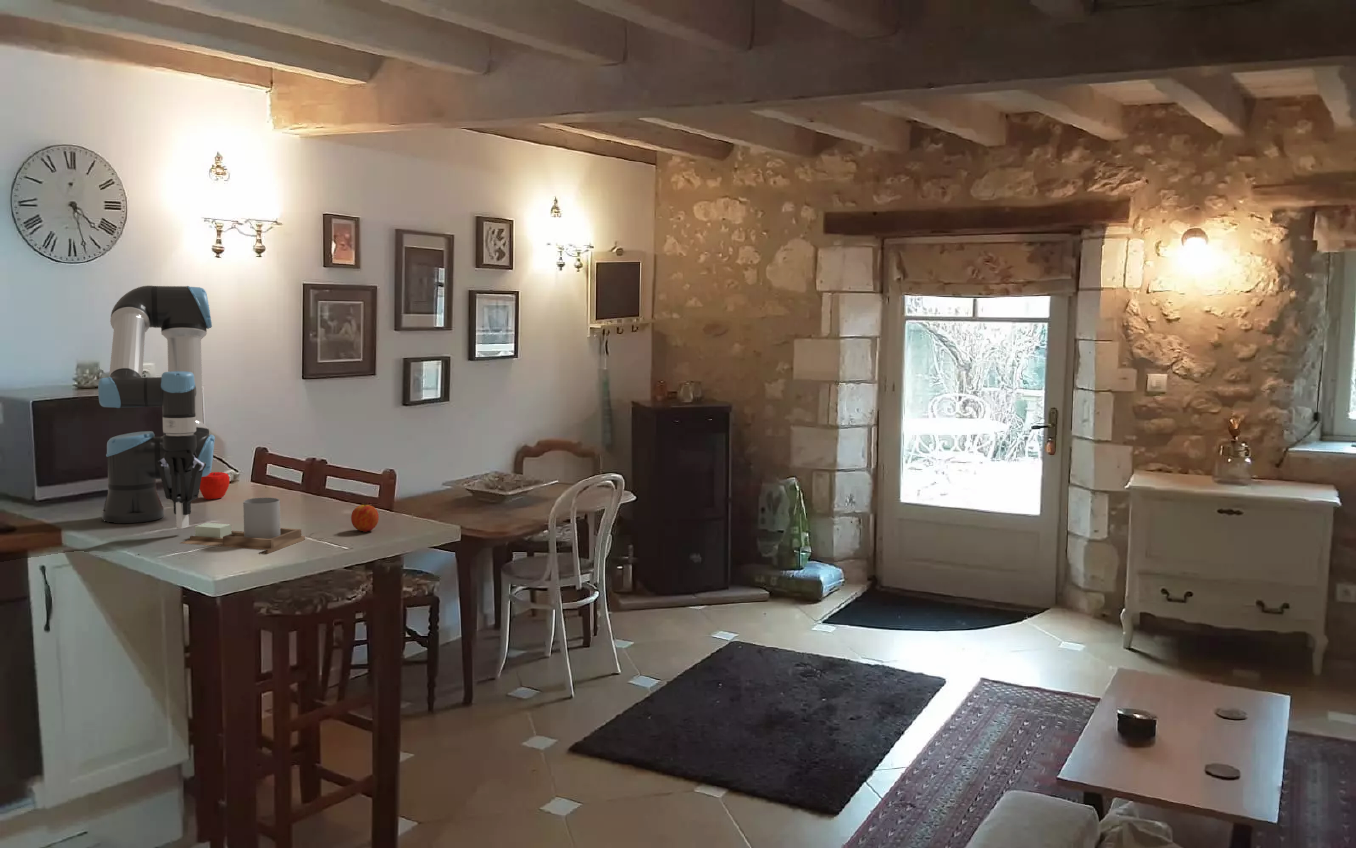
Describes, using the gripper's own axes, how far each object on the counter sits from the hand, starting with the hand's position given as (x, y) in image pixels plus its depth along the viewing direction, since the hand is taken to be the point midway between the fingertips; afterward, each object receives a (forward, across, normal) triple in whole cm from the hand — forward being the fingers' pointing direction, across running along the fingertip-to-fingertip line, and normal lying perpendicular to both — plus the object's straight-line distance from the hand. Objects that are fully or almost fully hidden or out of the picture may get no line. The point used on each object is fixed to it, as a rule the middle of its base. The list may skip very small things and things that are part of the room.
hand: (182, 527), depth 272 cm
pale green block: (+2, +9, 0) cm, 9 cm away
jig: (+3, +17, 0) cm, 17 cm away
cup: (+2, +22, 0) cm, 22 cm away
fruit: (+3, +38, +22) cm, 44 cm away
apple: (+3, -27, +50) cm, 57 cm away
